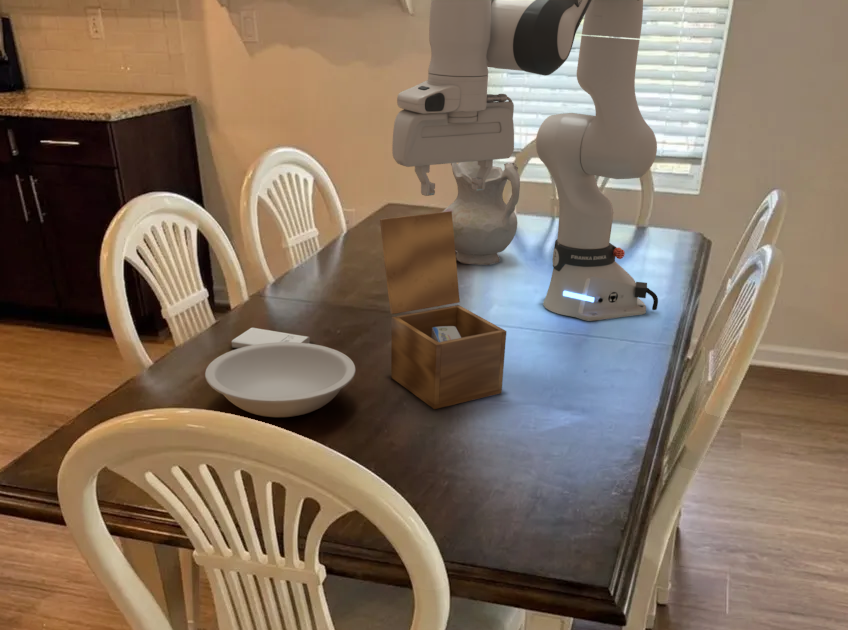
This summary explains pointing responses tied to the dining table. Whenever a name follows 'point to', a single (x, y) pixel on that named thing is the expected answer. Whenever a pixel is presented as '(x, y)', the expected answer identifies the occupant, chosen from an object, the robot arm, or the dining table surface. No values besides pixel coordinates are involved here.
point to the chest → (447, 356)
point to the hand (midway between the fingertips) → (453, 192)
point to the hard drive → (265, 338)
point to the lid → (420, 261)
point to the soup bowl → (280, 377)
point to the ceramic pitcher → (483, 213)
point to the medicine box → (445, 333)
